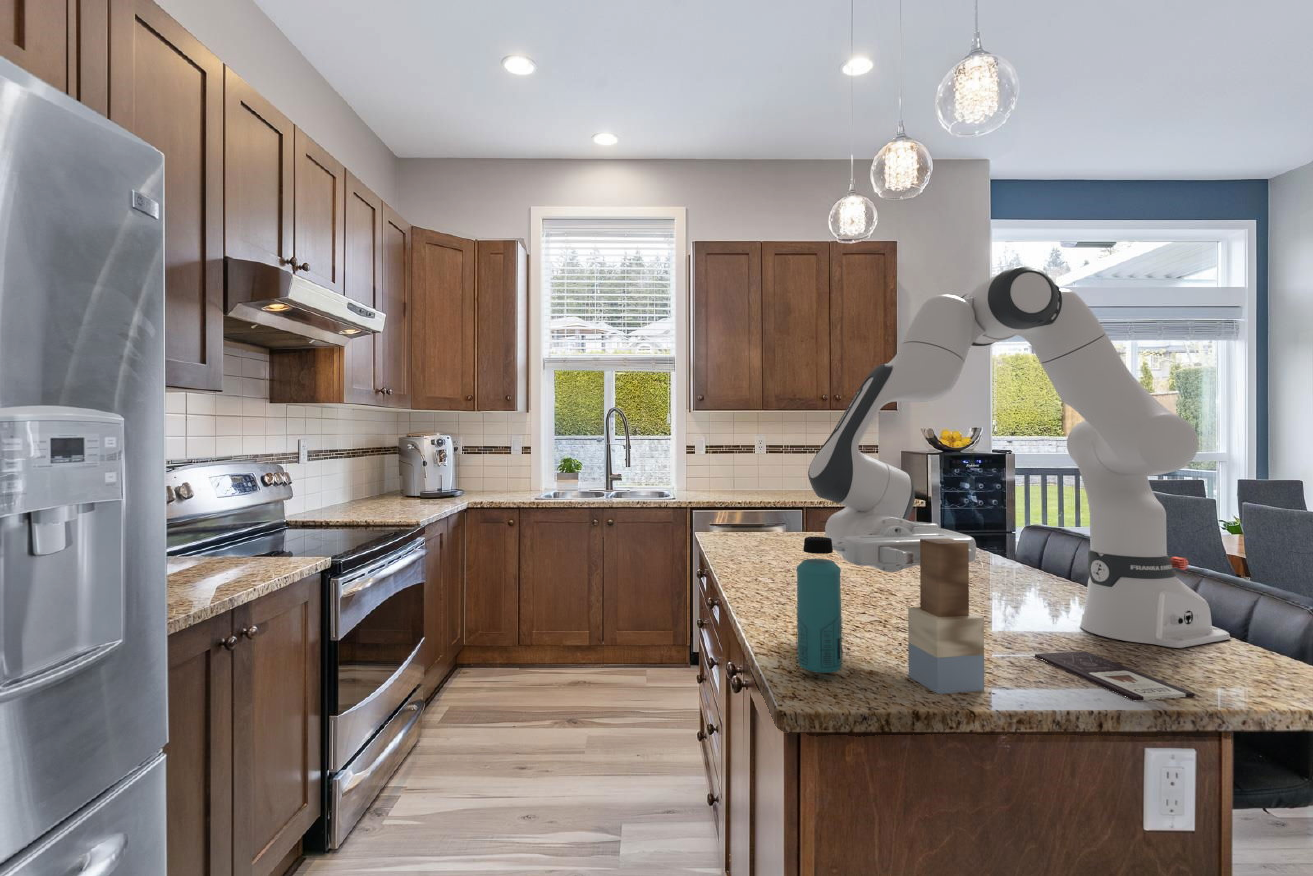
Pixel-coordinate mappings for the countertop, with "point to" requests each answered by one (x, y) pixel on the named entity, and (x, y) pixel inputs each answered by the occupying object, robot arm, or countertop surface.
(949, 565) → the pillar
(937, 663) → the tower base
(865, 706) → the countertop surface
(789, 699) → the countertop surface
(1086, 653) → the chocolate bar
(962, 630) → the tower top
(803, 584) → the beverage bottle
